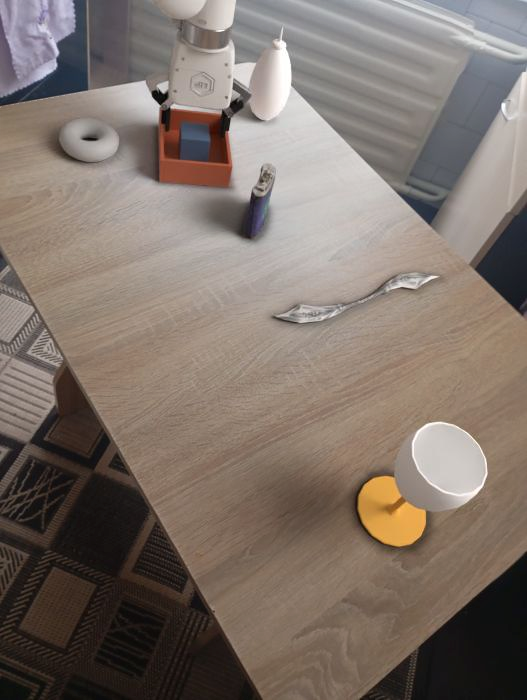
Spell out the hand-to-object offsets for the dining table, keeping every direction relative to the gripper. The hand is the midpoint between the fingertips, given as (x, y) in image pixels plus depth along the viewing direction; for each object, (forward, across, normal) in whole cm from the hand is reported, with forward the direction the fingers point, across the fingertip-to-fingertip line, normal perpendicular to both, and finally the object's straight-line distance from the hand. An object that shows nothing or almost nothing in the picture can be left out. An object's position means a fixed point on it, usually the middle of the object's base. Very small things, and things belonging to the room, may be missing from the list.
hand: (194, 130), depth 99 cm
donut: (+6, -18, 0) cm, 19 cm away
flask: (+6, +10, -16) cm, 20 cm away
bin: (+6, 0, 0) cm, 6 cm away
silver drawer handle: (+6, +26, -32) cm, 42 cm away
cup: (+6, +22, -67) cm, 71 cm away
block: (+5, 0, 0) cm, 5 cm away
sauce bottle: (+6, +15, +15) cm, 22 cm away
